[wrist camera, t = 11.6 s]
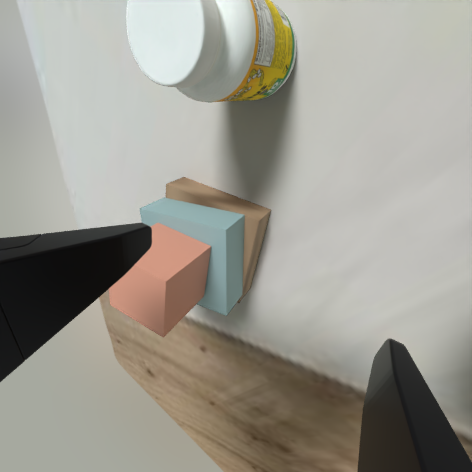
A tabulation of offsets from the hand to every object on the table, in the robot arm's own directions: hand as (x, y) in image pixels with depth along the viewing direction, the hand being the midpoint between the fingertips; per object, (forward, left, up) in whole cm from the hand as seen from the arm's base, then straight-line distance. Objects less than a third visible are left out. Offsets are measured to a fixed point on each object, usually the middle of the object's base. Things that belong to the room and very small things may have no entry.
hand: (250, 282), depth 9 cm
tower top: (+8, +8, -10) cm, 15 cm away
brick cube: (+8, +8, -7) cm, 13 cm away
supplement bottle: (+7, -7, -13) cm, 16 cm away
